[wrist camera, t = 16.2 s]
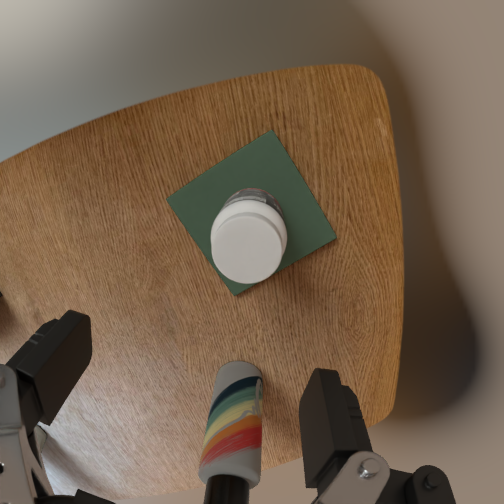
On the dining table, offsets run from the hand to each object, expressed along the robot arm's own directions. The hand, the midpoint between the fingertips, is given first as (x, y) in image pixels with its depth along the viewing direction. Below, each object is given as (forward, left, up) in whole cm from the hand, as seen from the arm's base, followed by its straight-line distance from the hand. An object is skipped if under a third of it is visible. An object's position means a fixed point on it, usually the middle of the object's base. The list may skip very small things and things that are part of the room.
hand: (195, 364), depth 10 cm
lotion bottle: (+17, -11, -22) cm, 30 cm away
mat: (+1, +1, -22) cm, 22 cm away
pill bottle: (+1, +1, -21) cm, 21 cm away
